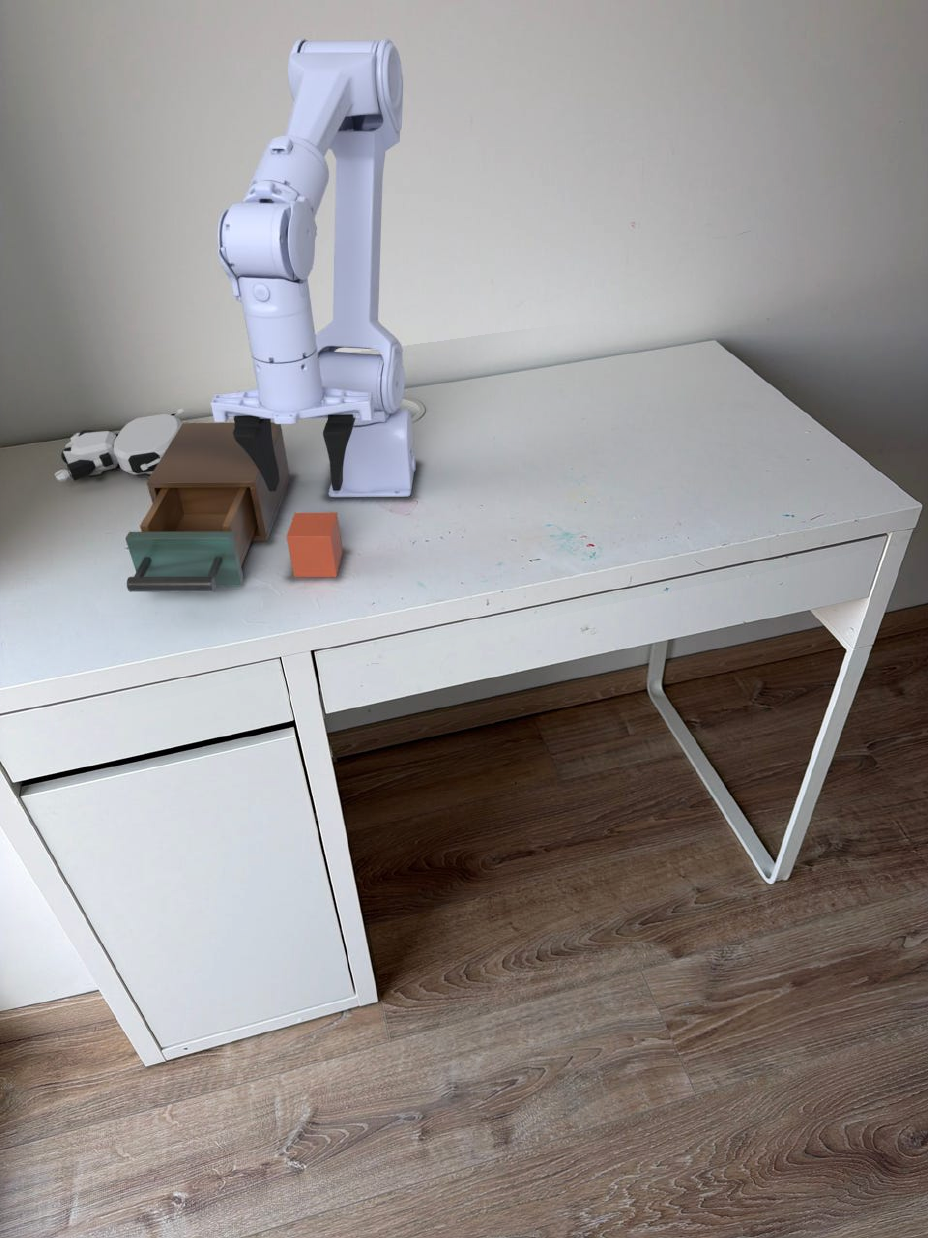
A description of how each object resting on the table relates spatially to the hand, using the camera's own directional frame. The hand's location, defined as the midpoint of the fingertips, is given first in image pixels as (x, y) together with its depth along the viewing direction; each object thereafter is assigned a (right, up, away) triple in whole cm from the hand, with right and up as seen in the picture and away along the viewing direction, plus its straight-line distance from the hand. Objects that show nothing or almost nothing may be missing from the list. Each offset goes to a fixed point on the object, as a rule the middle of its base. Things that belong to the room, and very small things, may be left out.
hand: (306, 485), depth 86 cm
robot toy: (-26, +6, +23) cm, 36 cm away
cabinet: (-11, 0, +15) cm, 19 cm away
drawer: (-12, -7, +5) cm, 15 cm away
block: (0, -7, +6) cm, 9 cm away
